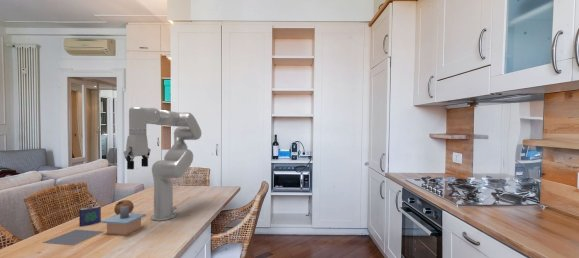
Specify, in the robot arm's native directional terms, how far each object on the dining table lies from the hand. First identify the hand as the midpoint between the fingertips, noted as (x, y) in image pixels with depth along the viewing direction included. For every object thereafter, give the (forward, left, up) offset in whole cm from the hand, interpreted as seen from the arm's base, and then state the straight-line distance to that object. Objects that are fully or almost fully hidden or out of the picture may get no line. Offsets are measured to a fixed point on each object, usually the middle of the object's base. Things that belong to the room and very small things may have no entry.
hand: (137, 167), depth 137 cm
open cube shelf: (+3, -5, -30) cm, 31 cm away
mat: (+14, -21, -30) cm, 39 cm away
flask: (-2, -29, -31) cm, 42 cm away
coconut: (-19, -24, -31) cm, 43 cm away
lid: (+3, -5, -24) cm, 25 cm away
